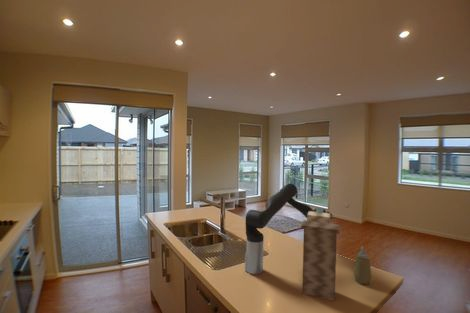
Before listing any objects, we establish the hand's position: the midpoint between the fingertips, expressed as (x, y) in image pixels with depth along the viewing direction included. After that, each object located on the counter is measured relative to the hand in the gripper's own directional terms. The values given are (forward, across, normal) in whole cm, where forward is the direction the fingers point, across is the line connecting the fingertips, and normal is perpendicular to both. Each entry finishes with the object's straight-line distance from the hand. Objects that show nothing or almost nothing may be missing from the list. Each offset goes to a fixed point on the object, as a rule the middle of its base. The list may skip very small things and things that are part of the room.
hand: (319, 210), depth 134 cm
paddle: (+2, 0, +5) cm, 5 cm away
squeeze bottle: (-13, +21, +31) cm, 40 cm away
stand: (+4, +2, +41) cm, 41 cm away
